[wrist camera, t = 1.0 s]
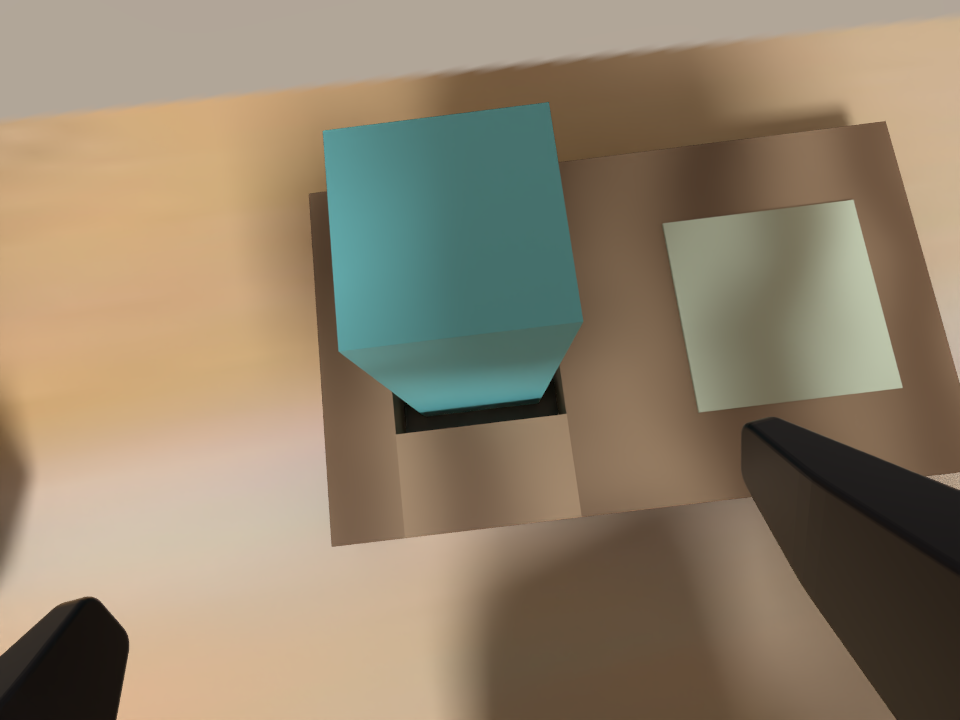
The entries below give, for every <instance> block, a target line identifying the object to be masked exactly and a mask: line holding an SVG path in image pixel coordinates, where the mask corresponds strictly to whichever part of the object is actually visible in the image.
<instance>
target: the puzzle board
mask: <svg viewBox="0 0 960 720" xmlns="http://www.w3.org/2000/svg"><path fill="white" fill-rule="evenodd" d="M558 164H559V170H560V176H561V183H562V189H563V195H564V202H565V208H566V214H567V221H568V227H569V234H570V240H571V246H572V253H573V259H574V265H575V272H576V278H577V284H578V291H579V297H580V303H581V310H582V316H583V323H582V325H581V327H580V329H579V330H578V332H577V334H576V336H575V338H574V340H573V341H572V343H571V345H570V347H569V349H568V350H567V352H566V354H565V356H564V358H563V359H562V361H561V363H560V365H559V367H558V369H557V370H556V372H555V374H554V376H553V379H554V386H555V393H556V400H557V407H558V414H559V415H553V416H545V417H537V418H528V419H520V420H512V421H504V422H495V423H487V424H479V425H470V426H462V427H454V428H446V429H437V430H429V431H421V432H412V433H407V432H406V421H405V410H404V401H403V400H402V399H401V398H399V397H398V396H397V395H395V394H394V393H393V392H392V391H390V390H389V389H388V388H386V387H385V386H384V385H382V384H381V383H380V382H378V381H377V380H376V379H374V378H373V377H372V376H370V375H369V374H368V373H366V372H365V371H364V370H362V369H361V368H360V367H358V366H357V365H356V364H354V363H353V362H352V361H350V360H349V359H348V358H346V357H345V356H344V355H342V354H341V353H340V352H339V351H338V337H337V323H336V309H335V295H334V281H333V267H332V253H331V239H330V225H329V211H328V197H327V191H326V192H318V193H310V194H309V202H310V218H311V233H312V249H313V264H314V280H315V295H316V311H317V326H318V342H319V357H320V373H321V388H322V404H323V419H324V435H325V450H326V466H327V481H328V497H329V512H330V528H331V543H332V547H334V546H343V545H351V544H359V543H368V542H376V541H385V540H393V539H402V538H410V537H418V536H427V535H435V534H444V533H452V532H461V531H469V530H477V529H486V528H494V527H503V526H511V525H519V524H528V523H536V522H545V521H553V520H562V519H570V518H578V517H587V516H595V515H604V514H612V513H620V512H629V511H637V510H646V509H654V508H663V507H671V506H679V505H688V504H696V503H705V502H713V501H721V500H730V499H738V498H747V497H752V496H751V494H750V492H749V491H748V489H747V487H746V485H745V483H744V480H743V477H742V473H741V431H742V427H743V426H744V424H746V423H748V422H751V421H755V420H759V419H762V418H766V417H778V418H781V419H783V420H786V421H788V422H791V423H793V424H796V425H798V426H801V427H803V428H806V429H808V430H811V431H813V432H816V433H818V434H821V435H823V436H826V437H828V438H831V439H833V440H836V441H838V442H841V443H843V444H846V445H848V446H851V447H853V448H856V449H858V450H861V451H863V452H866V453H868V454H871V455H873V456H876V457H878V458H881V459H883V460H886V461H888V462H891V463H893V464H896V465H898V466H901V467H903V468H906V469H908V470H911V471H913V472H916V473H918V474H921V475H923V476H932V475H940V474H949V473H957V472H960V383H959V379H958V376H957V372H956V369H955V365H954V362H953V358H952V355H951V351H950V348H949V344H948V341H947V337H946V333H945V330H944V326H943V323H942V319H941V316H940V312H939V309H938V305H937V302H936V298H935V295H934V291H933V288H932V284H931V280H930V277H929V273H928V270H927V266H926V263H925V259H924V256H923V252H922V249H921V245H920V242H919V238H918V234H917V231H916V227H915V224H914V220H913V217H912V213H911V210H910V206H909V203H908V199H907V196H906V192H905V189H904V185H903V181H902V178H901V174H900V171H899V167H898V164H897V160H896V157H895V153H894V150H893V146H892V143H891V139H890V135H889V132H888V128H887V125H886V121H884V122H876V123H868V124H860V125H852V126H844V127H836V128H828V129H820V130H812V131H804V132H796V133H788V134H780V135H772V136H764V137H756V138H748V139H741V140H733V141H725V142H717V143H709V144H701V145H693V146H685V147H677V148H669V149H661V150H653V151H645V152H637V153H629V154H621V155H613V156H605V157H597V158H589V159H581V160H573V161H565V162H558Z"/></svg>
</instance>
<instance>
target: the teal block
mask: <svg viewBox="0 0 960 720" xmlns="http://www.w3.org/2000/svg"><path fill="white" fill-rule="evenodd" d="M323 140H324V154H325V168H326V182H327V197H328V211H329V225H330V239H331V253H332V267H333V281H334V295H335V309H336V323H337V337H338V351H339V352H340V353H341V354H342V355H344V356H345V357H346V358H348V359H349V360H350V361H352V362H353V363H354V364H356V365H357V366H358V367H360V368H361V369H362V370H364V371H365V372H366V373H368V374H369V375H370V376H372V377H373V378H374V379H376V380H377V381H378V382H380V383H381V384H382V385H384V386H385V387H386V388H388V389H389V390H390V391H392V392H393V393H394V394H395V395H397V396H398V397H399V398H401V399H402V400H403V401H405V402H406V403H407V404H409V405H410V406H411V407H413V408H414V409H415V410H417V411H418V412H419V413H421V414H422V415H423V416H425V417H428V416H436V415H445V414H453V413H461V412H469V411H478V410H486V409H494V408H503V407H511V406H519V405H527V404H536V403H539V401H540V399H541V398H542V396H543V394H544V392H545V390H546V389H547V387H548V385H549V383H550V381H551V379H552V378H553V376H554V374H555V372H556V370H557V369H558V367H559V365H560V363H561V361H562V359H563V358H564V356H565V354H566V352H567V350H568V349H569V347H570V345H571V343H572V341H573V340H574V338H575V336H576V334H577V332H578V330H579V329H580V327H581V325H582V323H583V316H582V310H581V303H580V297H579V291H578V284H577V278H576V272H575V265H574V259H573V253H572V246H571V240H570V234H569V227H568V221H567V214H566V208H565V202H564V195H563V189H562V183H561V176H560V170H559V164H558V157H557V151H556V145H555V138H554V132H553V126H552V119H551V113H550V107H549V102H546V103H538V104H530V105H522V106H515V107H507V108H499V109H491V110H483V111H475V112H467V113H459V114H451V115H443V116H435V117H427V118H420V119H412V120H404V121H396V122H388V123H380V124H372V125H364V126H356V127H348V128H340V129H333V130H325V131H323Z"/></svg>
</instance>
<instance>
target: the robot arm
mask: <svg viewBox="0 0 960 720" xmlns="http://www.w3.org/2000/svg"><path fill="white" fill-rule="evenodd" d="M741 473H742V477H743V480H744V483H745V485H746V487H747V489H748V491H749V492H750V494H751V496H752V498H753V500H754V501H755V503H756V505H757V507H758V508H759V510H760V512H761V514H762V516H763V517H764V519H765V521H766V523H767V525H768V526H769V528H770V530H771V532H772V533H773V535H774V537H775V539H776V541H777V542H778V544H779V546H780V548H781V550H782V551H783V553H784V555H785V557H786V558H787V560H788V562H789V564H790V566H791V567H792V569H793V571H794V573H795V574H796V576H797V578H798V579H799V581H800V583H801V584H802V586H803V587H804V589H805V590H806V592H807V593H808V595H809V596H810V598H811V599H812V601H813V602H814V604H815V605H816V606H817V608H818V609H819V611H820V612H821V614H822V615H823V616H824V618H825V619H826V621H827V622H828V623H829V625H830V626H831V628H832V629H833V631H834V632H835V633H836V635H837V636H838V638H839V639H840V640H841V642H842V643H843V645H844V646H845V647H846V649H847V650H848V652H849V653H850V655H851V656H852V657H853V659H854V660H855V662H856V663H857V664H858V666H859V667H860V669H861V670H862V671H863V673H864V674H865V676H866V677H867V679H868V680H869V681H870V683H871V684H872V686H873V687H874V688H875V690H876V691H877V693H878V694H879V695H880V697H881V698H882V700H883V701H884V703H885V704H886V705H887V707H888V708H889V710H890V711H891V712H892V714H893V715H894V717H895V718H896V719H897V720H960V490H958V489H955V488H953V487H950V486H948V485H945V484H943V483H940V482H938V481H935V480H933V479H930V478H928V477H926V476H923V475H921V474H918V473H916V472H913V471H911V470H908V469H906V468H903V467H901V466H898V465H896V464H893V463H891V462H888V461H886V460H883V459H881V458H878V457H876V456H873V455H871V454H868V453H866V452H863V451H861V450H858V449H856V448H853V447H851V446H848V445H846V444H843V443H841V442H838V441H836V440H833V439H831V438H828V437H826V436H823V435H821V434H818V433H816V432H813V431H811V430H808V429H806V428H803V427H801V426H798V425H796V424H793V423H791V422H788V421H786V420H783V419H781V418H778V417H766V418H762V419H759V420H755V421H751V422H748V423H746V424H744V426H743V427H742V431H741ZM128 653H129V639H128V635H127V633H126V631H125V629H124V628H123V627H122V626H121V624H120V623H119V622H118V621H117V620H116V619H115V618H114V616H113V615H112V614H111V613H110V612H109V611H108V610H107V608H106V607H105V606H104V605H103V604H102V603H101V602H100V601H99V600H98V599H96V598H94V597H83V598H80V599H76V600H72V601H68V602H64V603H62V604H60V605H58V606H56V607H55V608H54V609H52V610H51V611H50V612H49V613H48V614H47V615H46V616H45V617H43V618H42V619H41V620H40V621H39V622H38V623H37V624H36V625H35V626H34V627H32V628H31V629H30V630H29V631H28V632H27V633H26V634H25V635H24V636H22V637H21V638H20V639H19V640H18V641H17V642H16V643H15V644H14V645H12V646H11V647H10V648H9V649H8V650H7V651H6V652H5V653H4V654H2V655H1V656H0V720H116V719H117V713H118V708H119V702H120V697H121V691H122V686H123V680H124V675H125V669H126V664H127V659H128Z"/></svg>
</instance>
